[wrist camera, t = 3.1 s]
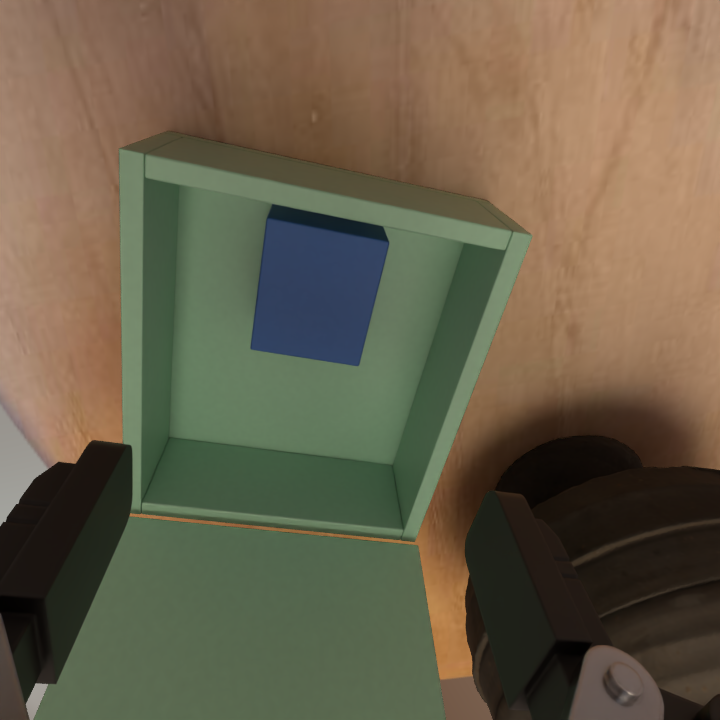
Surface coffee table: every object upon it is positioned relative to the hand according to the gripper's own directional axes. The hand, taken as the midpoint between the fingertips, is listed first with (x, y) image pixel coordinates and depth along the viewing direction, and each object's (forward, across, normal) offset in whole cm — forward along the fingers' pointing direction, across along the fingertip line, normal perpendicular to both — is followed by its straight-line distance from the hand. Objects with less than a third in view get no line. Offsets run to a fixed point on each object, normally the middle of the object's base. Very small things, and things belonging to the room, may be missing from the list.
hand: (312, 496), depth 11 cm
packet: (+15, 0, 0) cm, 15 cm away
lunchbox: (+15, 0, +4) cm, 16 cm away
